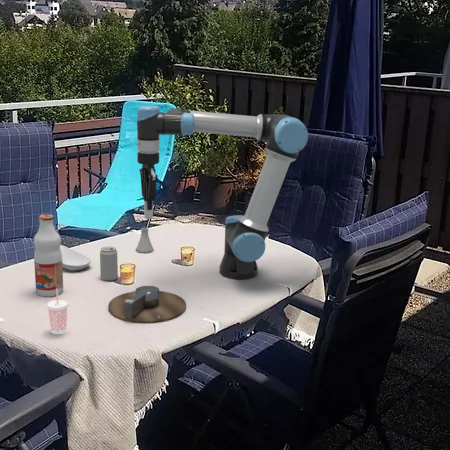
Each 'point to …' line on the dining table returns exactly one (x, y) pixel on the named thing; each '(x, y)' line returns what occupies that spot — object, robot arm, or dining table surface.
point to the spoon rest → (73, 259)
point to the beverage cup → (58, 315)
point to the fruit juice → (48, 258)
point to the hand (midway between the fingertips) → (148, 217)
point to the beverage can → (108, 263)
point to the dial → (142, 300)
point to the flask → (144, 242)
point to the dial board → (164, 311)
